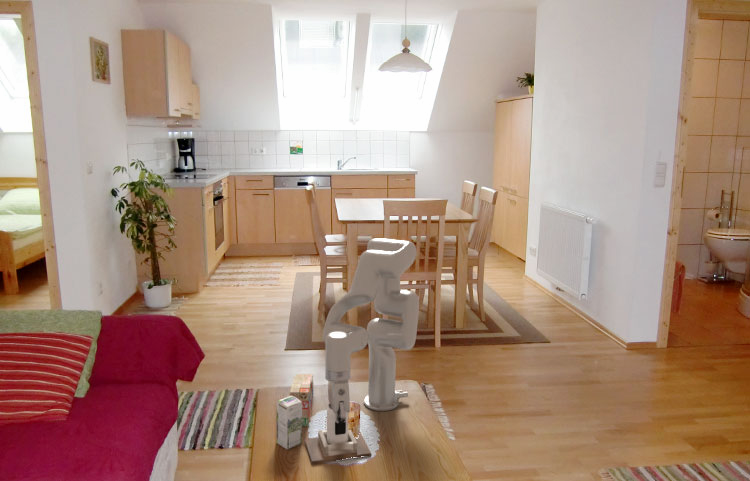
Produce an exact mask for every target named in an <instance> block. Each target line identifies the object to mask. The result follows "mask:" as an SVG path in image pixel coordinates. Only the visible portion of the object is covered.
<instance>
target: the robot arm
mask: <svg viewBox="0 0 750 481" xmlns="http://www.w3.org/2000/svg"><path fill="white" fill-rule="evenodd" d="M366 247H367V248H366V250H365V251H363V252H362V253H361V254H360V257H359V259H358V263H357V266H356V270H355V272H354V276H353V279H352V282H351V284H350V285H351V286H350V289H349V291H348V292H347V293H345V294H344V295H343V296H342V297H339V299H338V300H337V301H336V302H335V303H334V304H333V305H332V306H331V308H330V309H329V311H328V314H327V316H326V320H325V323H324V327H323V330H322V339H323V342H324V344H325V349H324V350H325V354H324V355H325V357H324V358H325V359H324V360H325V363H324V364H325V365H324V366H325V368H324V369H325V371H324V372H325V377H324V378H325V380H326V381H327V382H328V383H327V386H328V387H327V397H328V398H327V399H328V403H329V404H330V405H331V408H332V409H333V412H334V413H335V415H336V422H335V434H336V435H340V434H345V433H346V415H345V410H346V412H348V414H349V413H350V412H351V406H350V404H351V401H350V399H351V398H350V386H349V380H350V379H351V366H352V365H351V362H352V361H351V354H354V353H357V352H360V351H361V350H364V349H365V348H366V346H367V345H368V394H367V395H366V396H365V397H364V399H363V404H364V406H365V407H366V408H368V409H370V410H374V411H379V412H385V411H386V412H387V411H390V410H391V411H392V410H395V409H396V408H397V407H399V405H400V399H402V398H408V397H409V394H408V393H409V392H408V391H403V390H402V389H399V390H396V370H397V369H396V366H397V365H396V363H397V358H396V357H397V356H396V354H395V351H394V349H397V350H405V351H409V350H411V349H412V348H414V346H415V344H416V340H417V332H418V325H419V324H418V322H419V313H420V299H419V297H418V294H417V293H416V292H414V291H411V290H407V289H401V277H402V275H404V273H405V272H407V271H408V269H409V268H410V267H411V266H412V265H413V263H414V262H415V261H416V257H417V248H416V245H415V244H414V242H412V241H409V240H403V239H401V240H400V239H392V238H383V237H379V238H378V237H377V238H372V239H369V241H368V243H367V246H366ZM372 302H373V307H374V310H375V312H377V313H378V314H380V315H385V316H391V317H397V318H401V320H395V319H391V318H390V319H389V318H384V317H375V318H372V319H371V320H370V321H369V322H368V323H367V326H366V328H365V327H362V326H359V325H354V324H353V325H352V324H348V323H342V322H340V321H341V320H342V318H343V316H344V315H345V314H346V313H347V312H348V311H351V310H352V309H354V308H356V307H360V306H362V305H365V304H369V303H372ZM338 410H340V412H337V411H338ZM338 414H340V417H339V418H338Z"/></svg>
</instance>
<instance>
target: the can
mask: <svg viewBox="0 0 750 481" xmlns="http://www.w3.org/2000/svg"><path fill="white" fill-rule="evenodd" d="M337 412H340V410H338V411H337ZM345 415H346V433H345V434H340V435H336V434H335V422H336V415H335V413H334V412H333V409H332V408H331V405H330V403H329V404H328V407H327V409H326V430H327V442H328V443H329V444H338V443H345V442H348V427H349V413H348V412H346V410H345ZM339 417H340V414H338V418H339Z"/></svg>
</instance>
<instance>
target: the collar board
mask: <svg viewBox="0 0 750 481" xmlns="http://www.w3.org/2000/svg"><path fill="white" fill-rule="evenodd" d="M317 432H318V433H317V435H318V436H317V437H310V438H304V443H305V446H306V450H307V453H308V456H309V457H308V458H310V459H309V460H310V461H311V463H310V464H311V465H317V464H324V463H331V461H333V462H337V461H336V460H340V461H343V460H342V459H346V458H351V457H352V458H353V457H361V456H368V457H372V451H371V450H370V448H369V446H368V444H367V442H366V440H365V438H364V436H363V434H362V432H361V431H359V432H360V434H359V438H358V439H355V437H354V435H353V433H354V432H353V431H352V430H348V442H345V443H338V444H329V443H328V442H327V429H323V430H318V431H317ZM361 458H362V457H361Z"/></svg>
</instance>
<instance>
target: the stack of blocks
mask: <svg viewBox="0 0 750 481" xmlns="http://www.w3.org/2000/svg"><path fill="white" fill-rule="evenodd" d="M289 396H294V397H296V398H297V399H299V400H300V401H301V402H302V427H307V426H308V425H310V421H311V416H312V406H313V404H314V373H296V374H295V376H293V380H292V384H291V388H290V390H289Z"/></svg>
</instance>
